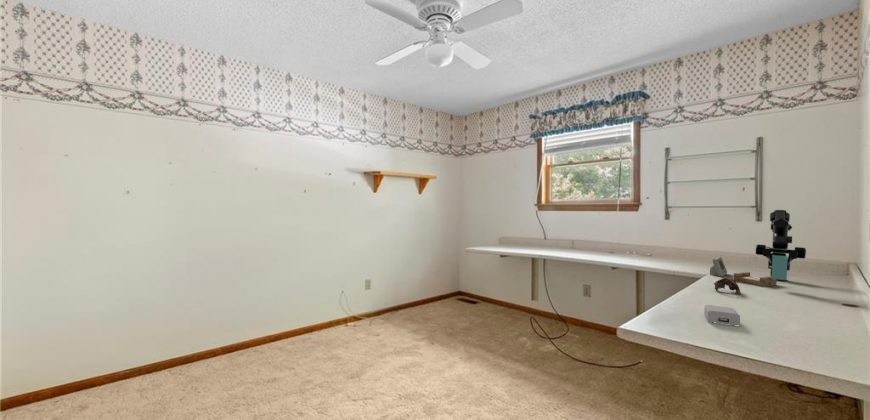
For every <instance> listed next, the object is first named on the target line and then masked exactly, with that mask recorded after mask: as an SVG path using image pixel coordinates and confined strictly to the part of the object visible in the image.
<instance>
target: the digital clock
mask: <svg viewBox="0 0 870 420" xmlns="http://www.w3.org/2000/svg"><path fill="white" fill-rule="evenodd" d="M723 260H724V259H723V258H722V256H716V257H714V258H713V259H711V261H712V263H713V265H712V266H711V267H710V269H709V275H710V276H715V275H716V276H717V277H720V278H722V277H724V276H725V275H726V274H728V271H727V267H726V265H725V263H724V261H723Z"/></svg>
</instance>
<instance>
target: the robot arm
mask: <svg viewBox="0 0 870 420" xmlns="http://www.w3.org/2000/svg"><path fill="white" fill-rule="evenodd" d="M790 217H791V215H790V212H787V210H786V209H775V210H773V212H771V213H769V222H771V223H770V230H771V231H772V246H771V247H770V246H767V245H766V244H756V245H755V254H756V255H757V256H763V257H766V259H768V261H767V262H768V263H767V264H768V265H767V268H768V269H769V270H770V272H769V273H770V275H769V276H772V255H779V256H787V255H788V256H787V257H788V259H787V272H788V271H790V270H791V269H790V268H791V262H793V260H797V259H805V258H806V255H807V249H806V248H805V247H801V246H800V247H799V246H795V247H794V249H789V244H792V243H793V236H792V235H791V236H790V235H788V232H789V231H791V230H792V229H793V226H792V225H791V224H790ZM777 281H781V282H782V281H786V282H787V281H789V280H788V279H787V280H780V279H777ZM777 281H776V282H777Z"/></svg>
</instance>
